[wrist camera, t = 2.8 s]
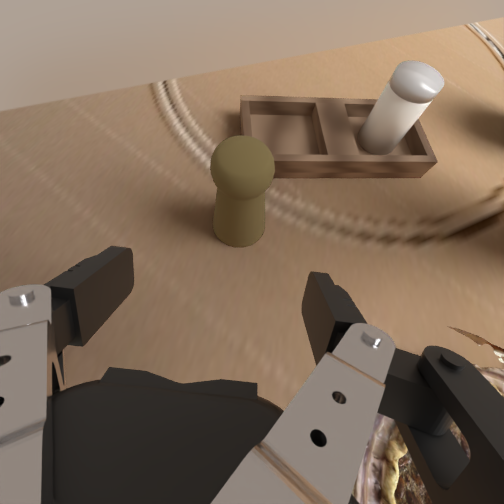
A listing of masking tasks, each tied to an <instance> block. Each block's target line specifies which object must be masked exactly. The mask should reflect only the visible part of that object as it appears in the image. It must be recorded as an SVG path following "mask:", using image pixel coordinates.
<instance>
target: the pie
mask: <svg viewBox="0 0 504 504" xmlns="http://www.w3.org/2000/svg"><path fill="white" fill-rule="evenodd" d="M447 327H448V326H447ZM449 328H452V327H449ZM452 329H454V330H455V331H457V332H459V333H461V334H463V335H465V336H467V337H469V338H470V339H472V340H473V341H474V342H476V343H477V344H478V345H479V346H481V345H483V344H485V343H486V344H489V345H491V346H492V347H493V348H494V353H495V354H496V355H499V356H500V359H498V360H500V362H501V363H504V361H503V360H502V358H501V356H503V357H504V349H502V348H500V347H497V346H495V345H492V344H491V343H489V342H488V341H486V340H485V339H483V338H481V337H479V336H476V335H474V334H471V333H468V332H465V331H463V330H459V329H456V328H452ZM472 365H473V366H474V367H475V368H476V369H477V370H478V371H479V372H480V373H481V374H482V375H483V376H484V377H485V378H486V379H487V380H488V381H489V382H490V383H491V384H492V386H493V387H494V388H495V389H496V390H497V391H498V392H499V393H500V394H501V395H502V396H503V397H504V369H500V368H493V367H487V368H481V367H479V366H477V365H475V364H472ZM449 429H450V430H451V432H452V433H453V435H454V436H455V438H456V439H457V441H458V443H459V444H460V446H461V447H462V449H463V450H464V452H465V453H466V455H467V457H468V458H469V460H470V449H469V445H468V443H467V441H466V439H465V437H464V435H463V434H462V433H461V431H460V430H459V428H458V427H457V425H456V424H455V422H454V421H453V423H452V424H451V426H450V427H449ZM352 495H353V496H354V497H355V498H356V500H357V501H358V502H359V503H360V504H432V502H431V499H430V497H429V495H428V493H427V491H426V488H425V486H424V484H423V482H422V480H421V477H420V475H419V473H418V471H417V469H416V467H415V464H414V462H413V460H412V458H411V456H410V453H409V451H408V449H407V447H406V445H405V443H404V440H403V438H402V436H401V434H400V432H399V429H398V427H397V425H396V423H395V421H394V419H391V418H389V417H386V416H384V415H381V414H379V413H377V415H376V418H375V421H374V424H373V427H372V431H371V434H370V437H369V440H368V443H367V446H366V449H365V453H364V456H363V459H362V462H361V465H360V468H359V472H358V475H357V478H356V481H355V484H354V487H353V491H352Z"/></svg>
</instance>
